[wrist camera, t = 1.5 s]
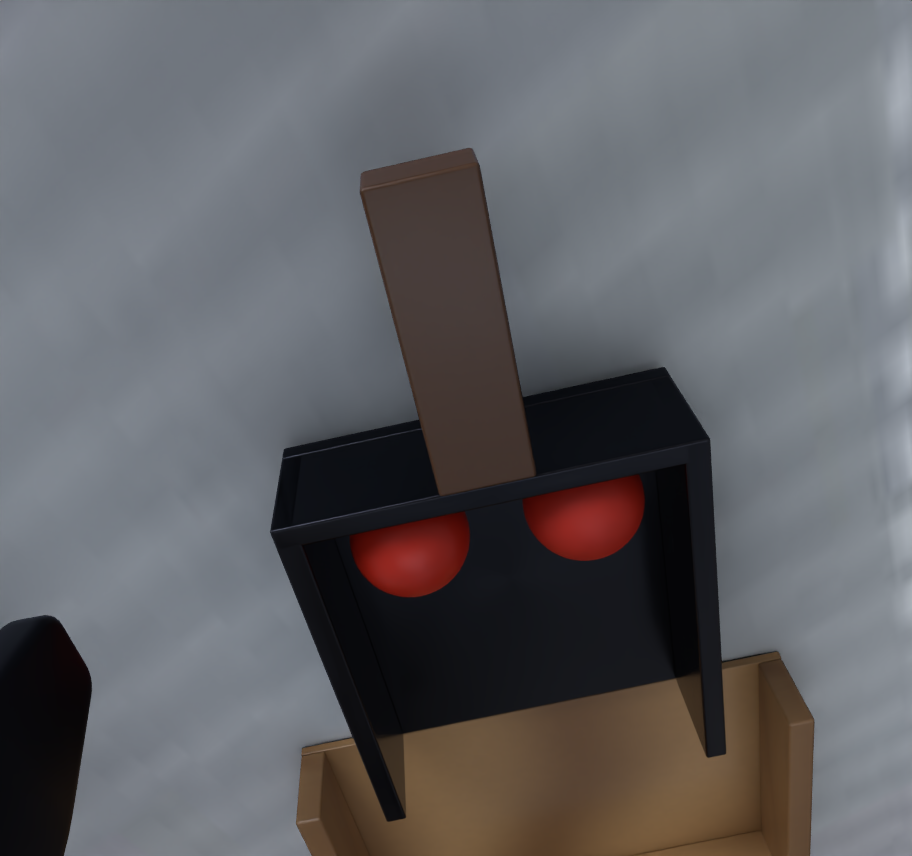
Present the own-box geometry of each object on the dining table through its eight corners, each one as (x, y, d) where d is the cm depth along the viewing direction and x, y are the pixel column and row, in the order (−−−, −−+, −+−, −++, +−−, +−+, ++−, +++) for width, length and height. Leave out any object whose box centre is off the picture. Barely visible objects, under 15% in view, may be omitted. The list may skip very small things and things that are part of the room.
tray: (375, 909, 34) (375, 985, 31) (301, 747, 29) (295, 824, 26) (778, 830, 33) (809, 902, 31) (778, 651, 28) (815, 720, 26)
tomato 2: (528, 541, 23) (542, 593, 20) (507, 438, 22) (517, 476, 20) (637, 519, 23) (667, 567, 20) (620, 414, 22) (648, 449, 19)
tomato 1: (369, 575, 23) (361, 631, 21) (342, 473, 23) (329, 516, 20) (478, 552, 23) (484, 605, 20) (454, 449, 22) (457, 489, 20)
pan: (185, 182, 19) (148, 236, 15) (641, 78, 18) (695, 113, 15) (385, 725, 28) (386, 826, 25) (689, 663, 28) (728, 758, 25)
